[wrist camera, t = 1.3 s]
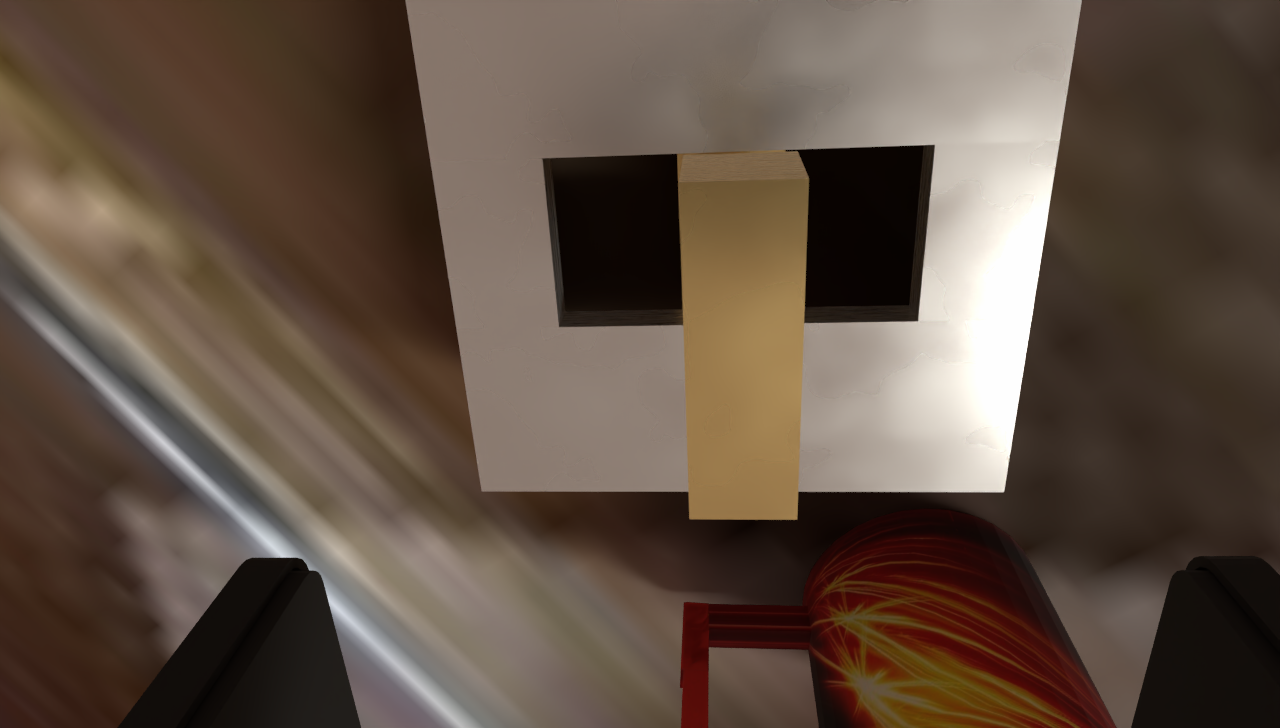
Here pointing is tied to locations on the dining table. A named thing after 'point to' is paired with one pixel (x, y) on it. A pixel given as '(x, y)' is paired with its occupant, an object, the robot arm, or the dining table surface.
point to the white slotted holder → (732, 122)
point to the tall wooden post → (743, 329)
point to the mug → (913, 633)
